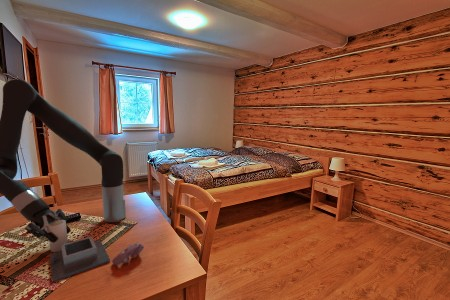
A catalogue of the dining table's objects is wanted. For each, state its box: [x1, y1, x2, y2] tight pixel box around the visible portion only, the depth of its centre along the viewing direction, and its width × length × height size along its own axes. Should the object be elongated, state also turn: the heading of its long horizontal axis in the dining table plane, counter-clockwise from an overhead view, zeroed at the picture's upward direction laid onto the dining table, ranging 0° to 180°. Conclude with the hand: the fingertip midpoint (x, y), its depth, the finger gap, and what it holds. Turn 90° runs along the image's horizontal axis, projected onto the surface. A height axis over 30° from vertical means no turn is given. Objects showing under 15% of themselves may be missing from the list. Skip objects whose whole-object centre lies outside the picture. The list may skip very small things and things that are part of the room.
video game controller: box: [112, 242, 144, 266], centre depth 79 cm, size 10×5×7 cm, turn 149°
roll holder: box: [49, 236, 111, 283], centre depth 79 cm, size 16×16×5 cm
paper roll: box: [48, 220, 69, 253], centre depth 86 cm, size 6×6×10 cm
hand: (62, 236), depth 86 cm, fingers closed on paper roll, 5 cm apart
